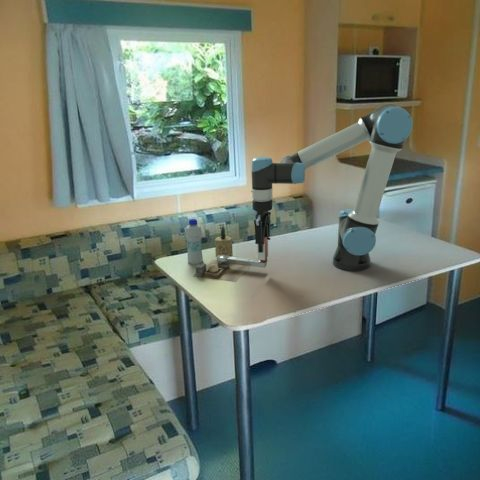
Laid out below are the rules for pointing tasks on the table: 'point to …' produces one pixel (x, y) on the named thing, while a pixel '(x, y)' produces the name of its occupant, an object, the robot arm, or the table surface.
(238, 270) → the square wooden tray
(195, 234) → the bottle
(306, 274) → the table surface
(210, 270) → the nut
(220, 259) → the lever
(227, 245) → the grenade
